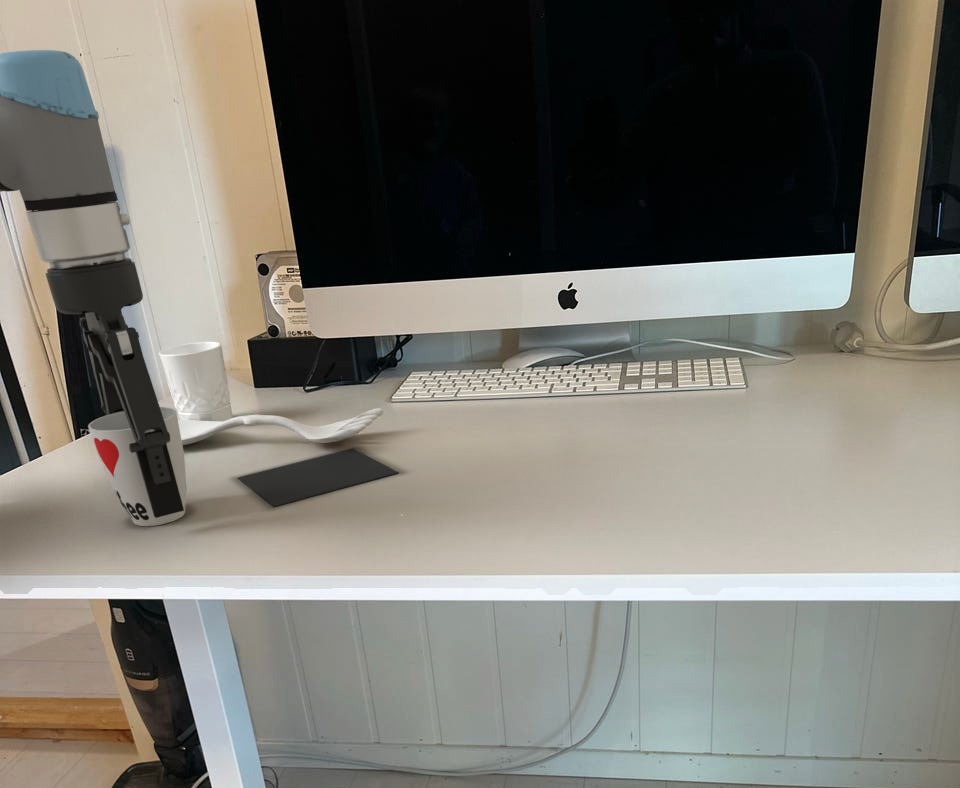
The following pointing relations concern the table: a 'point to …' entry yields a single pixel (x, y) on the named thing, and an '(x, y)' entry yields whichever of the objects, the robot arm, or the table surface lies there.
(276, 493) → the mat
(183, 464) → the cup
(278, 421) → the spoon
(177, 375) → the white cup
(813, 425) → the table surface
